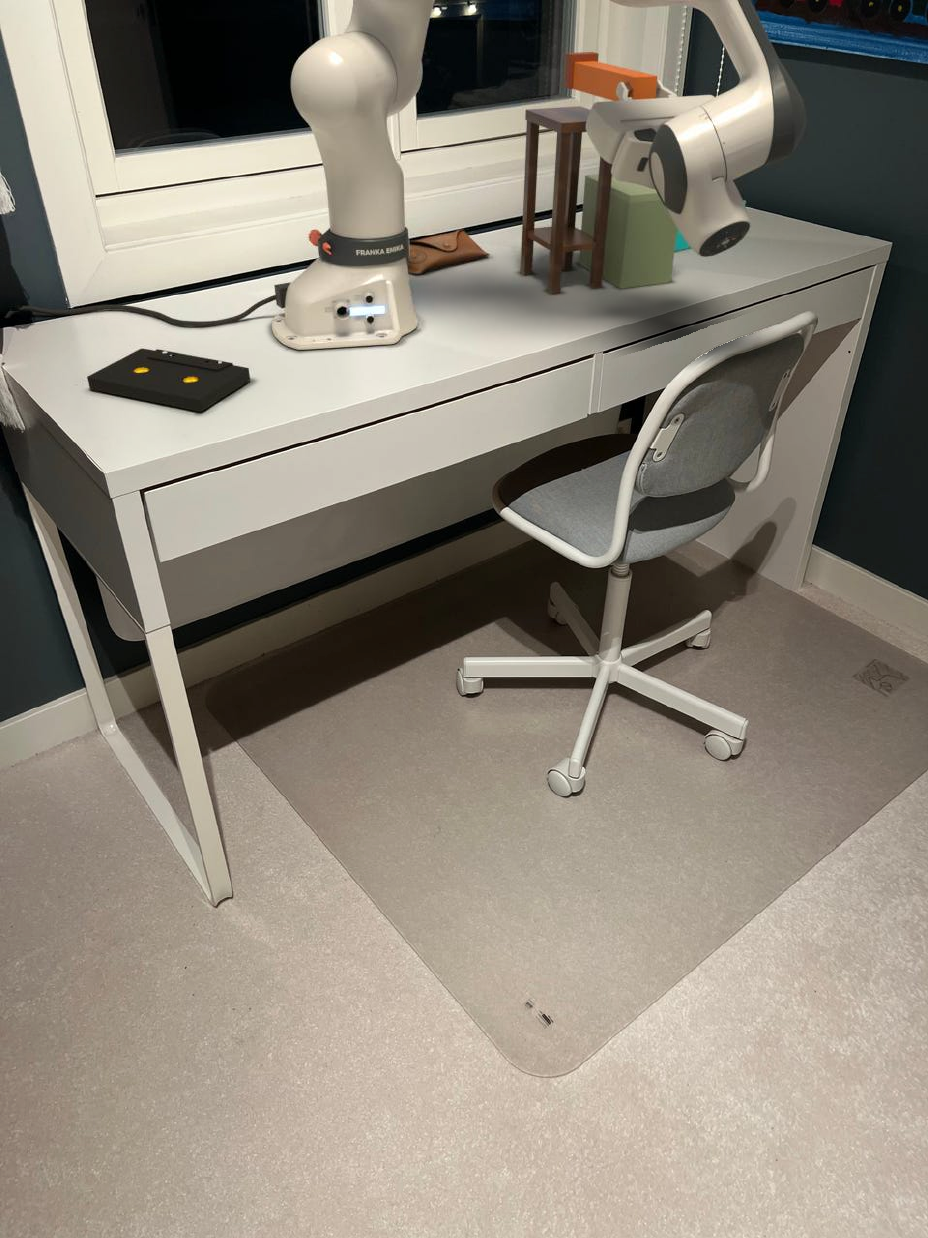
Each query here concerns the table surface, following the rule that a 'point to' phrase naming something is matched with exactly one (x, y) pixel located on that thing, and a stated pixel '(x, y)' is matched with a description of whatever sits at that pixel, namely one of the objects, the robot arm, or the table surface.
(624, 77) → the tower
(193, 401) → the cassette tape
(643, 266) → the sage green box
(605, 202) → the stand
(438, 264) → the sunglasses case
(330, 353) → the table surface
